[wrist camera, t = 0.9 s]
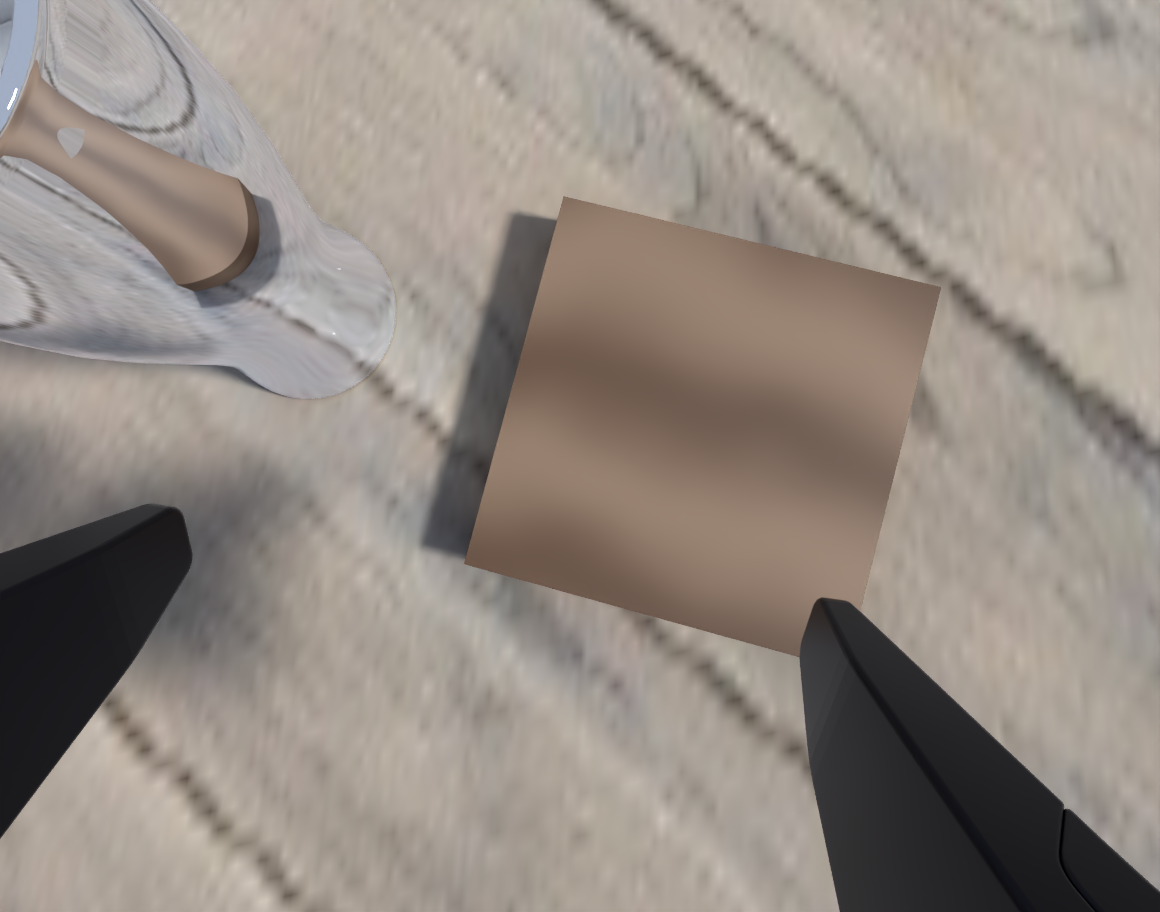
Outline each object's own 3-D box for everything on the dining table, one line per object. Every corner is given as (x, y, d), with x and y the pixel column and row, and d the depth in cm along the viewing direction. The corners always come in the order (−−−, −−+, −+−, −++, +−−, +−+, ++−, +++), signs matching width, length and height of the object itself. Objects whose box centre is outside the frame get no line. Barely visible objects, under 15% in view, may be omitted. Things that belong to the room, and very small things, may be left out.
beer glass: (233, 430, 24) (-431, 328, 9) (202, 239, 24) (-487, -178, 9) (426, 390, 23) (88, 216, 8) (391, 198, 24) (7, -302, 9)
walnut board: (824, 653, 22) (845, 669, 20) (477, 557, 23) (463, 563, 21) (912, 305, 23) (941, 287, 21) (567, 221, 23) (563, 196, 21)
